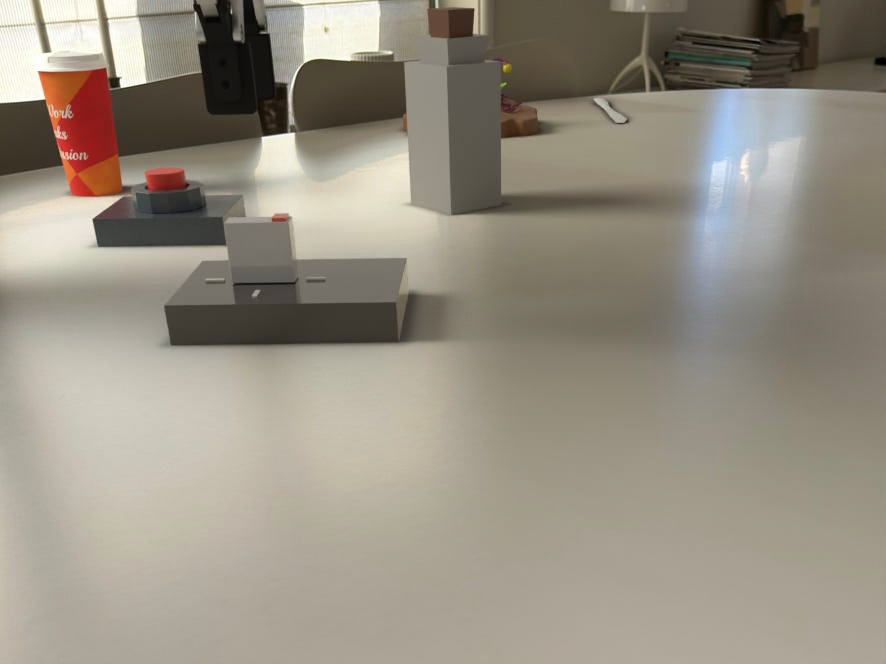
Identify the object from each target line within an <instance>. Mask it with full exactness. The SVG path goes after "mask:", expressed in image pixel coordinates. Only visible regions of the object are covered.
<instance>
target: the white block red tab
mask: <svg viewBox="0 0 886 664" xmlns="http://www.w3.org/2000/svg"><path fill="white" fill-rule="evenodd" d="M224 230H225V237H226V244H227V245H226V250H227V259H228V261H229V265H230V272H231V279H232V283H293V282H295V281H296V279H297V277H298V267H297V260H298V259H297V250H296V240H295V229H294V220H293V217H292V216H290V214H289V212H287V213H286V212H285V213H283V212H281V213H280V212H279V213H274V214H273V216H246V217H229V218H228V219H227V220H226V221H225V222H224Z"/></svg>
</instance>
